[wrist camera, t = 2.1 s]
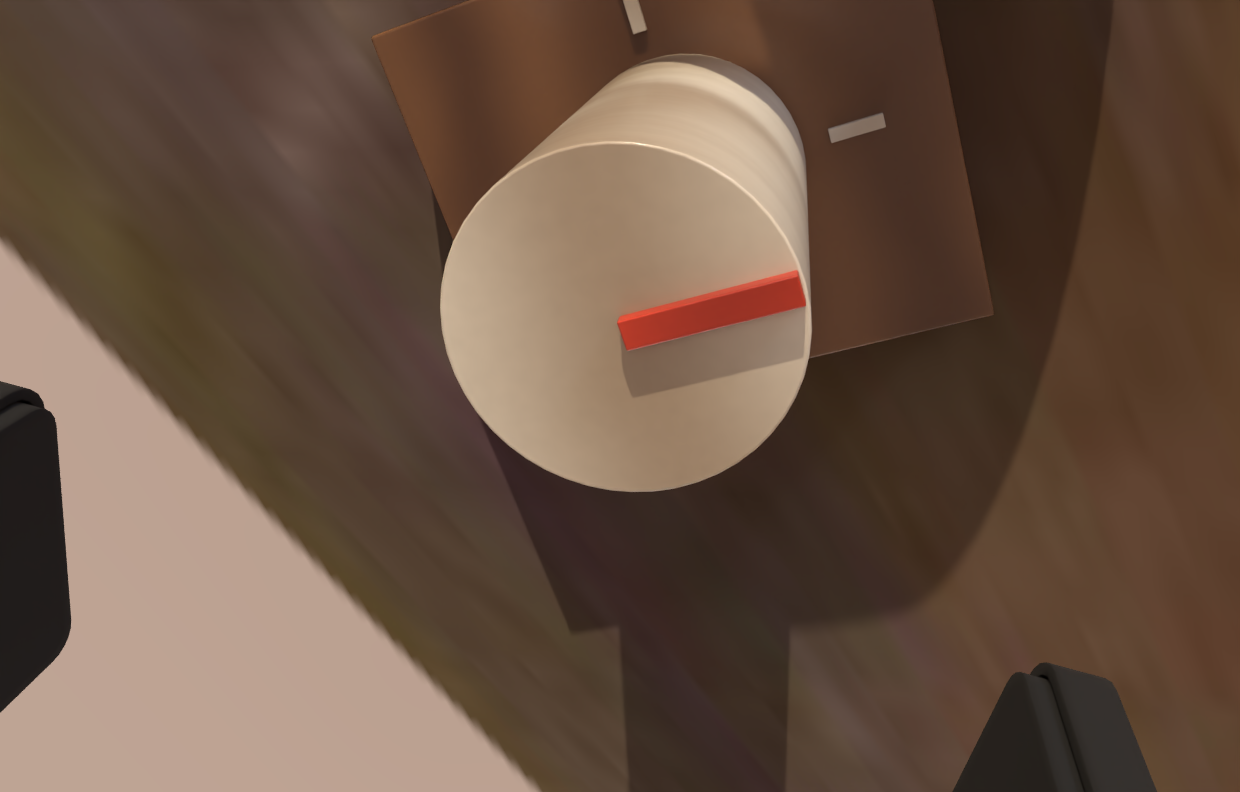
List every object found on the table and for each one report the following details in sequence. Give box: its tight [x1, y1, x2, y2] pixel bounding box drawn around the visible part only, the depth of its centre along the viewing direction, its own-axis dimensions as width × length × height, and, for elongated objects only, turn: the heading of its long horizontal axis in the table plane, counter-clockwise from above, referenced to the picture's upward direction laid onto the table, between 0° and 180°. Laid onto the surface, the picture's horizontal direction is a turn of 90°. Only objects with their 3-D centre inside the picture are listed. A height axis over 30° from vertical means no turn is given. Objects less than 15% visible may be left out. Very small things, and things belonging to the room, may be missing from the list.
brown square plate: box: [372, 0, 994, 358], centre depth 28 cm, size 14×12×3 cm
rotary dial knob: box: [440, 54, 812, 492], centre depth 22 cm, size 6×6×11 cm
